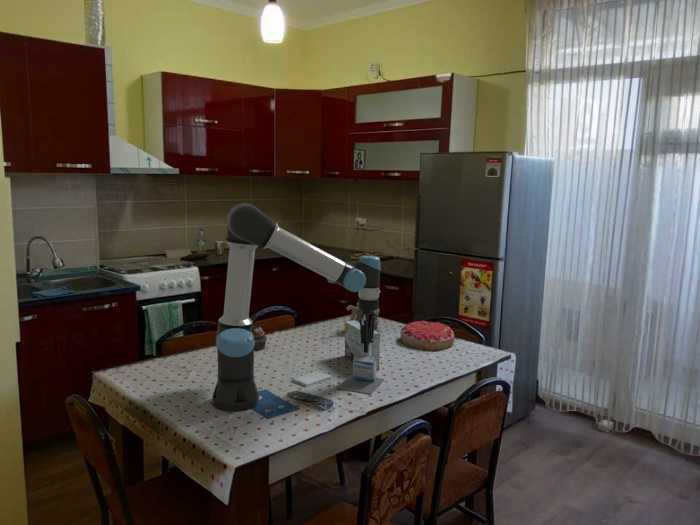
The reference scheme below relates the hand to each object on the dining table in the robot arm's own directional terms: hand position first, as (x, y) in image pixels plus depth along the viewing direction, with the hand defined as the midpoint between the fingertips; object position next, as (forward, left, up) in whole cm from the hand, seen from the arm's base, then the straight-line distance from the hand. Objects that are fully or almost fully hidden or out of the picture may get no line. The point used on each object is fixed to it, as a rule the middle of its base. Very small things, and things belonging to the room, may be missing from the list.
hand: (366, 359), depth 208 cm
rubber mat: (-6, 0, -7) cm, 9 cm away
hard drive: (-10, +18, -8) cm, 22 cm away
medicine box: (-1, 0, -6) cm, 6 cm away
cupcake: (+15, +56, -8) cm, 58 cm away
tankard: (+59, +23, -8) cm, 64 cm away
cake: (+58, -10, -8) cm, 60 cm away
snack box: (+17, +8, -8) cm, 20 cm away
